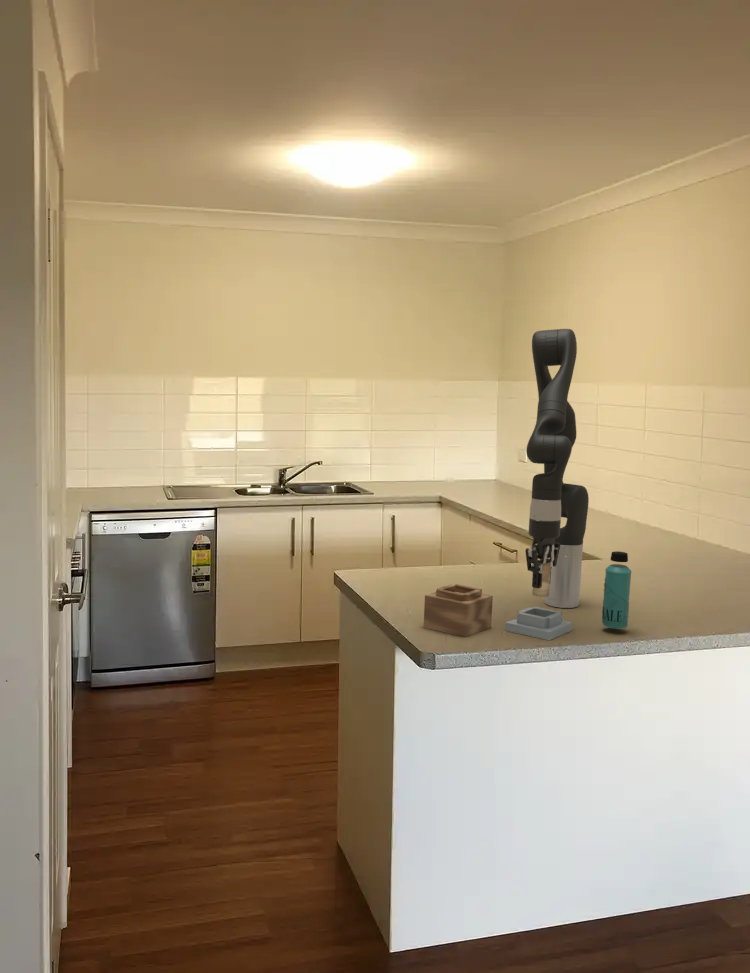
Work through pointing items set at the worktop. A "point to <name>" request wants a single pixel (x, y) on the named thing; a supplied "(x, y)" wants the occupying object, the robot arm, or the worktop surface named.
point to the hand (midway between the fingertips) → (541, 585)
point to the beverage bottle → (616, 592)
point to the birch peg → (544, 582)
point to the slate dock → (539, 623)
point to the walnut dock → (458, 610)
